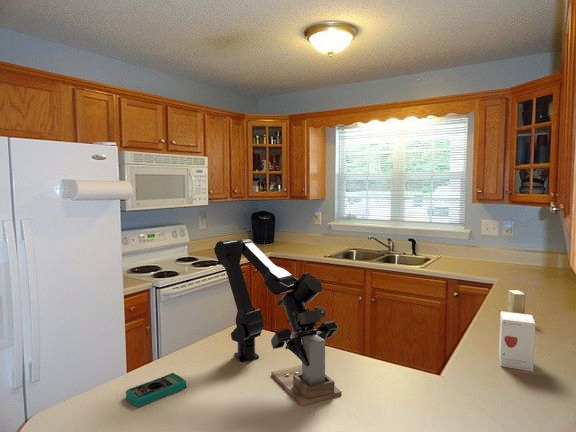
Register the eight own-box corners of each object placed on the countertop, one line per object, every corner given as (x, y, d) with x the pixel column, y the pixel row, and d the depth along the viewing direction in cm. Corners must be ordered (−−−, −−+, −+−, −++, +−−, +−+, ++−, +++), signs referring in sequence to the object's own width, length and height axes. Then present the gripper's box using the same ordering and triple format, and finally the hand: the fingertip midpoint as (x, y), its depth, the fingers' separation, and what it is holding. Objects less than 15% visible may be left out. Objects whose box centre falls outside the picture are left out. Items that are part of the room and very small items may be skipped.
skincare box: (506, 318, 168) (507, 289, 168) (518, 318, 168) (519, 290, 167) (513, 323, 162) (514, 293, 161) (524, 324, 162) (526, 294, 161)
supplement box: (499, 366, 124) (501, 318, 123) (498, 355, 132) (499, 310, 131) (534, 372, 120) (536, 323, 119) (530, 360, 128) (532, 314, 127)
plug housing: (302, 383, 110) (302, 337, 109) (316, 380, 112) (316, 334, 111) (310, 391, 106) (310, 343, 105) (324, 387, 108) (325, 340, 107)
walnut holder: (271, 375, 119) (271, 361, 119) (306, 366, 125) (306, 354, 124) (301, 406, 102) (301, 390, 102) (341, 395, 108) (341, 380, 107)
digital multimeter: (123, 399, 107) (123, 389, 107) (174, 380, 117) (174, 370, 117) (135, 410, 102) (135, 399, 101) (187, 389, 112) (187, 379, 112)
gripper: (275, 301, 106) (294, 358, 97) (335, 292, 115) (357, 344, 106) (263, 321, 114) (280, 375, 105) (320, 312, 122) (340, 361, 113)
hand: (316, 363), depth 107 cm, fingers closed on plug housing, 4 cm apart
